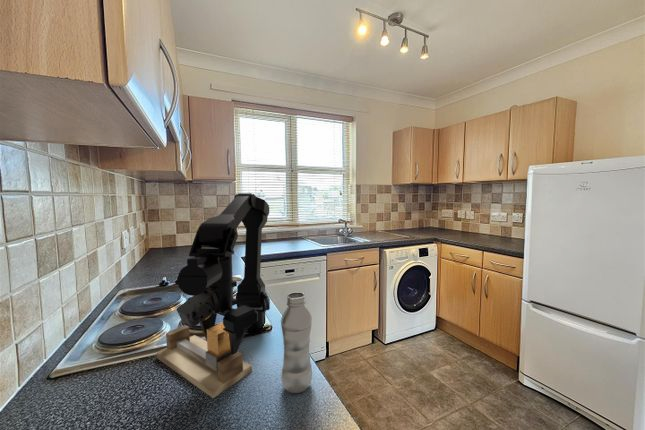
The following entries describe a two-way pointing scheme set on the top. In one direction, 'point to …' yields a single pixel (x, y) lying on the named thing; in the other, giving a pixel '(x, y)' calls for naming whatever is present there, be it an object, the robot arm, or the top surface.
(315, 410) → the top surface
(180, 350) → the rail board
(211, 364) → the slider block
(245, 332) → the robot arm
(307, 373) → the plastic bottle
